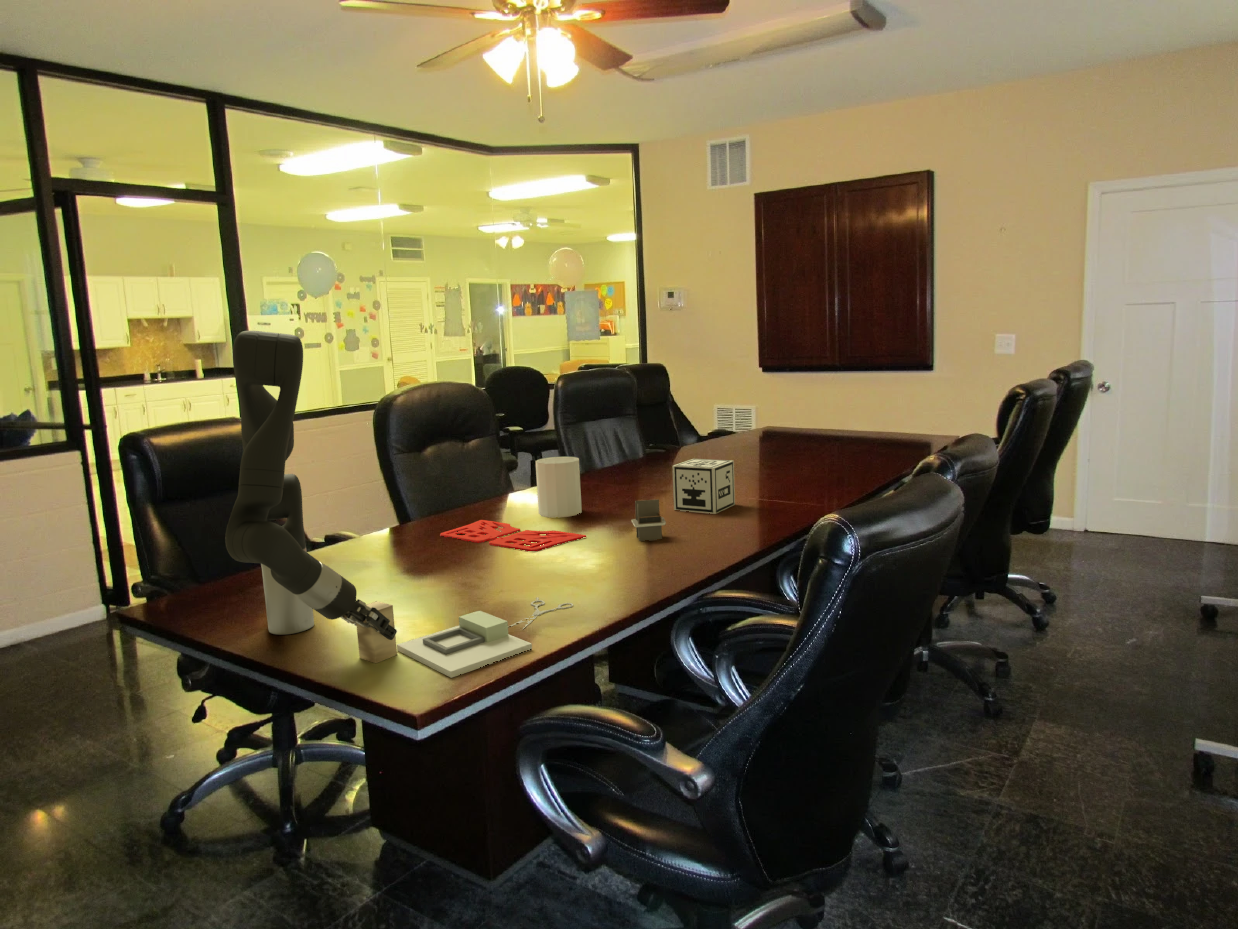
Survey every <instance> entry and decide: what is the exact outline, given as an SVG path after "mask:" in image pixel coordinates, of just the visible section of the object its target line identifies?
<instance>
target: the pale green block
mask: <svg viewBox="0 0 1238 929" xmlns="http://www.w3.org/2000/svg"><path fill="white" fill-rule="evenodd" d="M458 623H459V624H458V626H459V627H461V628H463V629H466V630H468V631H471V632H473V633H475V634H478V635H480V636H482V637H484V641H485V642H487V643H488V642H491V641H494V640H497V639H500V638H503V637H506V636H509V635H510V634H509V627H508V626H509V625H508V624H509V622H508V620H505V619H504V618H500V617H497V616H495V615H492V614H490V613H488V612H485V611H482V610H476V611H473V612H470V613H467V614H462V615H460V616H458ZM508 634H509V635H508Z"/></svg>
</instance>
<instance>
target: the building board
mask: <svg viewBox="0 0 1238 929" xmlns="http://www.w3.org/2000/svg"><path fill="white" fill-rule="evenodd" d="M508 635H509V636H506V637H503V638H500V639H497V640H494V641H491V642H488V643H487V642H485V641H484V637H482V636H480V635H478V634H475V633H473V632H471V631H468V630H466V629H463V628H461V627H459V625H455V626H453V627H452V626H451V627H449V628H446V629H444V630H439V631H436V632H434V633H430V634H426V635H423V636H420V637H417V638H413V639H411V640H407V641H404V642H401V643H396V647H397V652H400V653H402V654H404V655H406V656H407V657H410V658H411V659H414V660H415V661H417V662H420V663H421V664H424V665H425V666H427V667H429V668H431V669H433V670H435V671H437V672H439V673H440V674H443V675H445V676H447V677H448V678H451V679H452V678H455V677H457V676H461V675H463V674H466V673H469V672H473V671H475V670H477V669H480V667H481V668H484V667H486V666H485V665H487V664H489V665H493V664H494V663H493V662H495V661H498V662H500V660H501V661H503V660H502V659H504V658H506V657H509V658H511V657H510V656H512V657H514V656H513V655H515V654H518V655H520V654H519V653H521V652H523V651H526V650H529V651H531V650H530V649H532V650H533V644H532V643H531V642H529V641H526V640H524V639H522V638H519V637H516V636H514V635H511V634H509V633H508ZM526 652H527V651H526ZM523 653H524V652H523ZM521 654H522V653H521ZM515 656H516V655H515ZM506 659H507V658H506ZM504 660H505V659H504ZM495 663H496V662H495ZM483 666H484V667H483ZM487 666H488V665H487ZM460 674H461V675H460Z"/></svg>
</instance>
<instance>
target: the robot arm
mask: <svg viewBox="0 0 1238 929" xmlns="http://www.w3.org/2000/svg"><path fill="white" fill-rule="evenodd" d="M303 347H304V346H303V343H302V340H301V338H300V337H299V336H297V335H293V334H289V333H279V332H270V331H264V330H263V331H262V330H244V331H241V332H239V333H238V334H237V335H236V337H235V339H234V343H233V347H232V364H233V371H234V377H235V384H236V386H237V393H238V397H239V403H240V426H241V427H240V430H241V441H242V448H243V449H242V450H243V452H242V455H241V458H240V467H239V469H240V470H239V478H238V487H237V488H238V492H237V497H236V500H235V502H234V505H233V507H232V510H231V513H230V515H229V516H230V517H229V519H228V522H227V525H226V530H225V535H224V536H225V537H224V542H225V548H226V551H227V553H228V554H229V556H230V557H231V558H232V559H234V561H237V562H240V563H251V564H253V563H254V564H260V566H261V575H262V583H263V592H264V601H265V608H266V610H265V611H266V618H267V620H266V621H267V627H268V632H269V633H270V634H273V635H283V636H284V635H291V634H298V633H301V632H304V631H306V630H309V629H311V628H313V627H314V625H315V619H314V618H315V616H314V611H315V612H317V613H318V614H320V615H321V616H323V617H324V618H325V619H327V620H331V621H332V620H338V619H342V620H344V621H346V623H348V624H351V625H354V626H355V627H357V625H356V624H357V623H358V624H360V625H361V626H363V627H365V628H369V627H370V628H372V629H373V630H375V631H376V632H379V633H380V634H381V635H383V636H384V637H386V638H387V639H389V640H393V638H394V636H396V635H397V633H398V630H397V629H396V627H395V628H393V627H392V626H390V625H389V622H390V620H389V619H387V618H386V617H385V616H384V615H383V614H382V613H380V612H379V611H378V610H377V609H376V608H373V607H372V608H370V607H368V606H367V605H366V604H367V603H366V602H364V601H363V600H361V599H358V598H357V588H356V586H355V585H354V583H352V582H351V581H349V580H348V579H346V578H345V577H344V576H343V575H341V574H339V572H337V571H336V570H334V569H332V568H331V567H330V566H329V565H326V564H325V563H323V562H321V561H319V560H318V559H316V558H315V556H313V555H311V554H310V553H309V552H307V545H306V538H305V537H306V536H305V527H304V516H303V514H304V512H303V493H302V492H303V491H302V486H301V485H302V484H301V482H300V479H299V477H298V476H297V475H296V474H293V473H285V471H286V461H287V460H288V459H289V457H290V456H291V454H292V452H293V450H294V447H295V424H294V420H295V419H294V418H295V414H296V409H297V408H296V407H297V404H298V396H299V393H300V387H301V381H302V380H301V379H302V375H303V366H304V348H303ZM265 386H270V387H278V388H279V393H278V397H277V399H276V397H274V396H273V395H272V394H271V393H270V392H269V391H268V390H267V389H266V388H265ZM281 519H286V521H285V523H284V524H283V525H282V526H281V525H280V524H279V523H276V522H273V520H274V521H275V520H281ZM365 620H366V623H364V621H365Z"/></svg>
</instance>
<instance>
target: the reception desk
mask: <svg viewBox="0 0 1238 929" xmlns="http://www.w3.org/2000/svg"><path fill="white" fill-rule="evenodd" d="M634 504H635V505H634V507H635V518H632V519H631V523H632V524H633V526H634V528H635V530H636V531H635V532H636V538H638V542H645V540H649V541H658V540H657V539H662V540H663V529H662V526H665V525H666V524H667V522H666V519H665V517H663V516H662V515H661V514H660V499H659V498H658V499H644V500H635V501H634Z"/></svg>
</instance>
